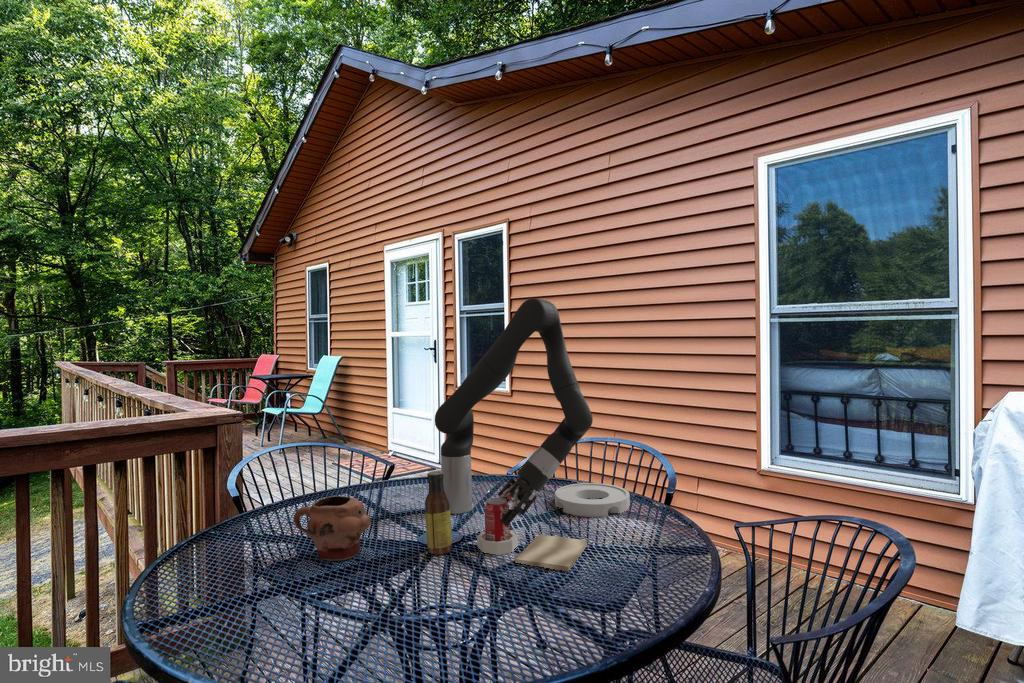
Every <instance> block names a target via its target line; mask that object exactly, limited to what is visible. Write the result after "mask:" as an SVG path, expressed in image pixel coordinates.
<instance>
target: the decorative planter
mask: <svg viewBox="0 0 1024 683" xmlns="http://www.w3.org/2000/svg"><path fill="white" fill-rule="evenodd" d="M302 516H306V517H308V522H307V525H306V526H307V527H306V528H307V529H306V528H304V527H303V526H302V525H301V523H300V520H301V517H302ZM292 519H293V523H294V526H295V528H297V529H298V530H300V531H301V532H303V533H305V535H306V536H308V537H309V538H310V539H311V540H312V541H313V543H314V545H315V548H316V551H317V555H318V558H319V559H321V560H324V561H332V562H333V561H345V560H348V559H352V558H354V557H355V556H357V555H358V554H359V553H360V550H361V538H360V537H361V535H362V533H363V532H364V531H366V530H367V529H369V527H370V526H371V524H372V519H371V517H370V516H369V515H368V514H367V513H366V510H365V506H364V504H363V502H361V501H360V500H358V499H357V498H355V497H352V496H351V497H350V496H343V495H342V496H341V495H335V496H334V495H333V496H332V495H331V496H327V497H324V498H321V499H318V500H316V501H314V503H313V504H311V506H303V507H299V509H296V511H295V512H294V514H293V517H292Z"/></svg>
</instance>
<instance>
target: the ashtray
mask: <svg viewBox="0 0 1024 683" xmlns="http://www.w3.org/2000/svg"><path fill="white" fill-rule="evenodd" d="M586 498H603V499H586ZM630 498H631V496H630V492H629V491H628V490H627V489H625V488H623V487H622V486H621V487H620V486H618V485H614V484H608V483H600V482H599V483H598V482H580V483H571V484H567V485H564V486H561V487H558V488H556V490H555V492H554V505H556V506H555V508H556V507H559V508H558V509H560V508H563V509H562V512H563V513H565V514H569V515H572V516H580V517H586V518H587V517H588V518H589V517H590V518H598V517H599V518H600V517H602V518H604V517H608V516H609V514H613V513H618V514H617V515H620V514H619V513H621V514H623V513H625V512H627V511H628V510H629V509H630V508H629V506H630V505H631V502H630V500H631V499H630ZM628 508H629V509H628ZM627 509H628V510H627ZM626 510H627V511H626ZM624 511H625V512H624ZM622 512H623V513H622Z"/></svg>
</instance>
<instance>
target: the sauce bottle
mask: <svg viewBox="0 0 1024 683" xmlns="http://www.w3.org/2000/svg"><path fill="white" fill-rule="evenodd" d="M443 478H444V474H443V472H441V471H440V470H433V471H429V472H427V480H428V493H427V495H426V497H425V500H424V506H425V510H424V512H425V513H424V514H425V517H424V518H425V531H426V533H425V534H426V547H427V552H428V554H432V555H434V556H441V555H445V554H449V553H450V552H451V551H452V550H451V549H452V548H453V547H452V543H453V537H452V536H453V534H452V518H451V514H450V505H449V502H448V499H447V497H446V494H445V491H444V485H443Z"/></svg>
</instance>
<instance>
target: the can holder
mask: <svg viewBox="0 0 1024 683" xmlns="http://www.w3.org/2000/svg"><path fill="white" fill-rule="evenodd" d="M518 537H519V535H518V534H517V533H516V532H514V531H513V530H510V539H509V540H504V541H499V542H495V541H488V540H485V530H483V531H482V532H480V534H478V535H477V536H476V540H477V541H476V542H477V543H476V544H477V545H476V546H477V547H478V548H479V549H480V550H481V551H482V552H484V553H490V554H496V555H495V556H497V555H498V556H502V555H508V554H512V553H514V552H515V550H516V549H517V548H518V547H519V543H518V542H519V540H518ZM517 546H518V547H517ZM516 547H517V548H516ZM478 548H477V549H478ZM515 548H516V549H515ZM479 549H478V550H479ZM514 549H515V550H514ZM480 550H479V551H480ZM481 551H480V552H481ZM482 552H481V553H482ZM511 552H512V553H511ZM490 554H489V555H490Z"/></svg>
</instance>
